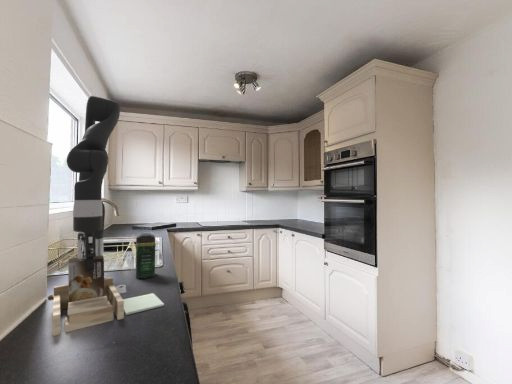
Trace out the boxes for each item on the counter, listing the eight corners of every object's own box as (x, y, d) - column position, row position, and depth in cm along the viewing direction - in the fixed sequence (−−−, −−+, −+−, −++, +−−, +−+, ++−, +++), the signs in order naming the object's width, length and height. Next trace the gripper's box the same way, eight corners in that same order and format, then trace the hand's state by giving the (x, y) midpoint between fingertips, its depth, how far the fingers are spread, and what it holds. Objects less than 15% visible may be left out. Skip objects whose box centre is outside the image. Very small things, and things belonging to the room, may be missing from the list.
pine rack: (53, 309, 82) (53, 286, 82) (112, 297, 92) (112, 277, 92) (52, 336, 66) (52, 307, 66) (123, 318, 76) (123, 293, 76)
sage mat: (118, 302, 87) (118, 300, 87) (153, 294, 94) (153, 293, 94) (126, 315, 78) (126, 312, 78) (164, 305, 84) (164, 303, 84)
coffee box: (103, 304, 86) (103, 254, 86) (104, 311, 80) (105, 258, 81) (68, 311, 81) (68, 258, 81) (67, 319, 75) (68, 262, 76)
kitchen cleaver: (42, 304, 85) (50, 293, 94) (42, 307, 85) (50, 295, 94) (127, 293, 95) (127, 283, 104) (127, 296, 95) (127, 286, 104)
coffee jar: (155, 277, 114) (155, 234, 115) (135, 280, 111) (135, 235, 112) (154, 272, 123) (154, 231, 124) (136, 274, 120) (136, 232, 121)
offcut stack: (64, 325, 72) (64, 302, 72) (110, 314, 79) (110, 294, 79) (65, 333, 68) (65, 309, 68) (113, 321, 74) (113, 299, 75)
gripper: (105, 215, 78) (105, 271, 77) (99, 213, 89) (99, 262, 89) (74, 216, 73) (74, 276, 73) (72, 214, 85) (71, 266, 84)
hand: (88, 268), depth 81 cm, fingers open, 8 cm apart
